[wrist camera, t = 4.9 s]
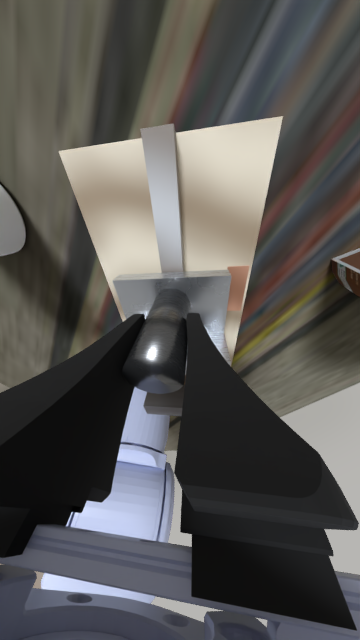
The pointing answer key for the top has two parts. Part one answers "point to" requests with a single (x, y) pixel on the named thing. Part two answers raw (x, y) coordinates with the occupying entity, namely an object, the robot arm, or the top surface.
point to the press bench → (178, 208)
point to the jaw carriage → (171, 322)
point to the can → (10, 225)
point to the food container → (348, 270)
